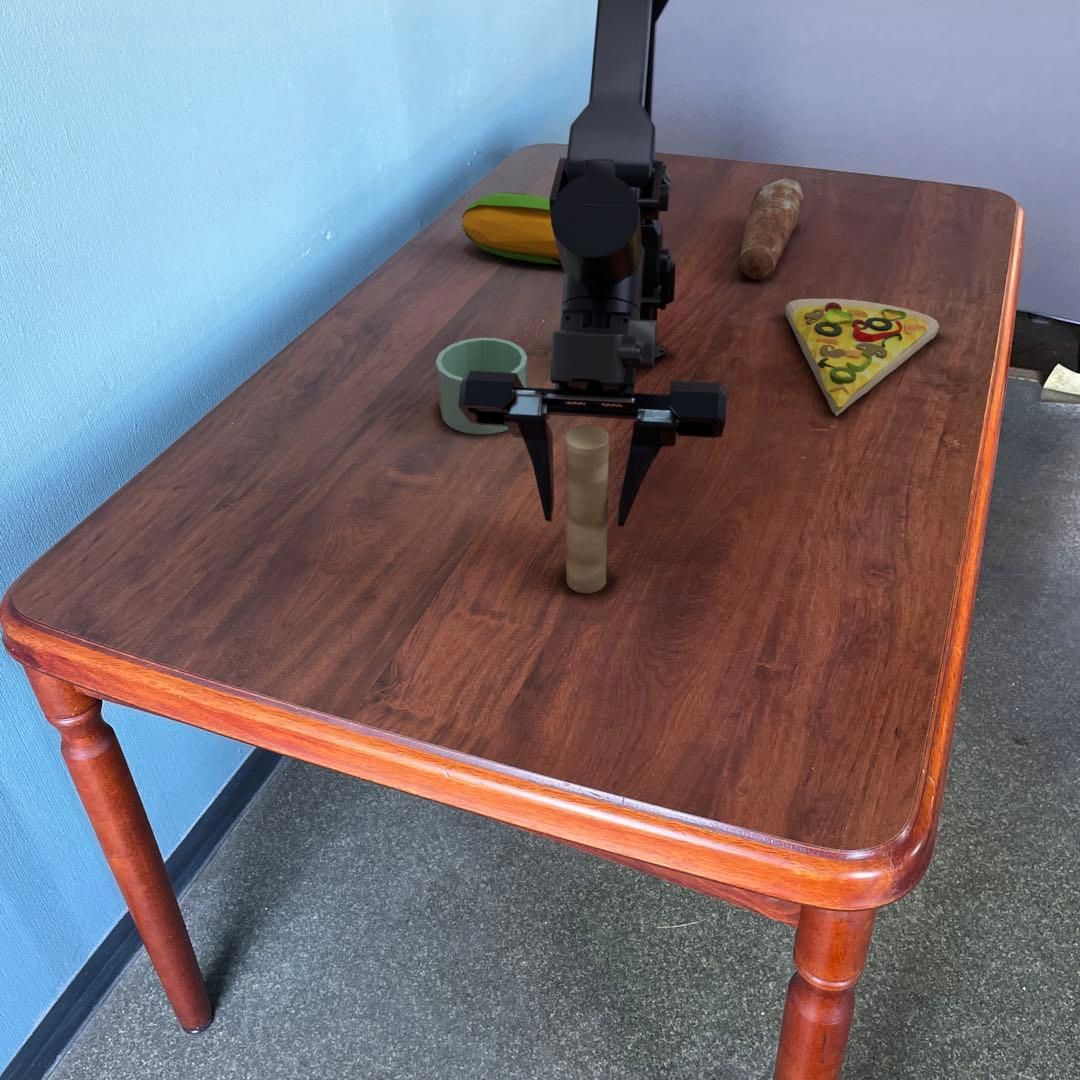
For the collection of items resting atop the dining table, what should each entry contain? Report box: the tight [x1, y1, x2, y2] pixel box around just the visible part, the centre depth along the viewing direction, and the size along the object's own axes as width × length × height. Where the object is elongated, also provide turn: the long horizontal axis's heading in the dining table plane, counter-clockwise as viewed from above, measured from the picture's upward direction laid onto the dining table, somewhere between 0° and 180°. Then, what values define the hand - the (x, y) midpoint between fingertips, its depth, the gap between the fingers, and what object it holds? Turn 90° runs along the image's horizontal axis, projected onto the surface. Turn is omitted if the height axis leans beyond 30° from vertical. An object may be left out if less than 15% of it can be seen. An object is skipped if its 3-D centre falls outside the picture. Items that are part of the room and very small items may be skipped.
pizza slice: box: [785, 298, 940, 417], centre depth 105 cm, size 16×21×3 cm
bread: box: [738, 177, 806, 280], centre depth 126 cm, size 6×19×6 cm, turn 160°
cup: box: [435, 337, 529, 435], centre depth 99 cm, size 8×8×6 cm
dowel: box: [564, 424, 610, 594], centre depth 77 cm, size 3×3×13 cm
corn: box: [461, 191, 561, 266], centre depth 125 cm, size 7×8×20 cm
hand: (584, 523), depth 76 cm, fingers open, 5 cm apart
